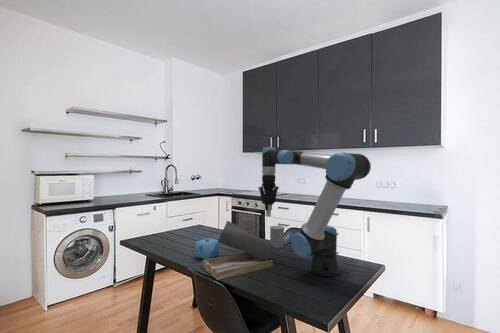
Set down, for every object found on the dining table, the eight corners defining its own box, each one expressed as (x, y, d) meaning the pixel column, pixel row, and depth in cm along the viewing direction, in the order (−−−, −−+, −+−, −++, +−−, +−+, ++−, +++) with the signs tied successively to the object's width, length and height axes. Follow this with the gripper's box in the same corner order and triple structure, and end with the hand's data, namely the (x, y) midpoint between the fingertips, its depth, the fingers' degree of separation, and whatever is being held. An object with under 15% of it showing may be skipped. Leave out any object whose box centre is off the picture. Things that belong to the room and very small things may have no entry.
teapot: (205, 251, 168) (205, 233, 168) (228, 257, 158) (228, 238, 158) (186, 258, 155) (186, 239, 155) (209, 265, 145) (210, 244, 145)
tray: (273, 267, 144) (273, 259, 144) (217, 280, 126) (217, 271, 126) (253, 256, 160) (253, 249, 160) (202, 267, 143) (202, 259, 143)
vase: (276, 238, 155) (229, 216, 156) (271, 256, 146) (221, 232, 147) (269, 249, 163) (224, 229, 164) (264, 267, 153) (216, 244, 155)
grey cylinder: (283, 247, 178) (283, 229, 178) (269, 246, 179) (269, 228, 179) (284, 243, 187) (284, 226, 187) (270, 243, 189) (271, 225, 189)
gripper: (274, 174, 160) (273, 214, 160) (255, 174, 153) (255, 215, 153) (281, 174, 154) (281, 216, 154) (263, 174, 147) (262, 218, 147)
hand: (268, 216), depth 154 cm, fingers closed
